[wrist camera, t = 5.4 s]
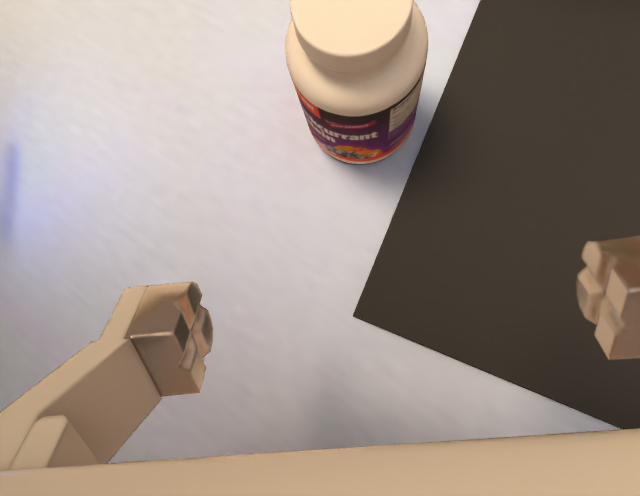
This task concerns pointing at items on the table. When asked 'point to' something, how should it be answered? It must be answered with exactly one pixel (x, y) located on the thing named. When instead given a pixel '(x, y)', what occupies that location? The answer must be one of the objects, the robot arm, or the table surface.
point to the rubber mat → (522, 202)
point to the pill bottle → (357, 73)
